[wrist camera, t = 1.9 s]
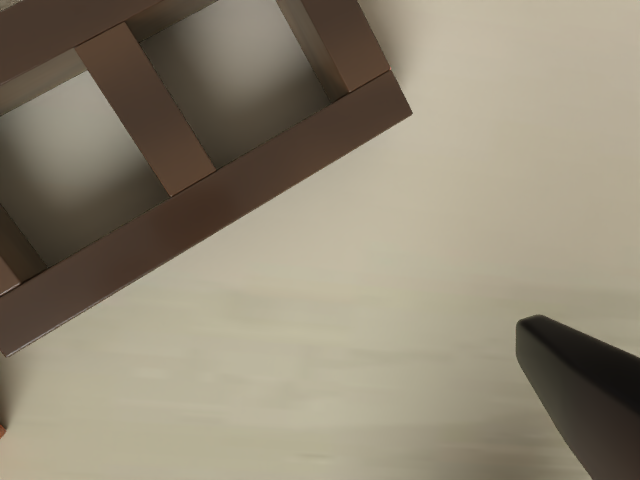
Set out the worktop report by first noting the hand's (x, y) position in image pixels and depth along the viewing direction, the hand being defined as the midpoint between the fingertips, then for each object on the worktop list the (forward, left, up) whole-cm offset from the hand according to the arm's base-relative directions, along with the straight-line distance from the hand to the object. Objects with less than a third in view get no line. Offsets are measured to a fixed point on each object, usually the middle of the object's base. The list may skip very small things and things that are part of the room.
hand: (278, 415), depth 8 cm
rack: (+6, +4, -14) cm, 16 cm away
